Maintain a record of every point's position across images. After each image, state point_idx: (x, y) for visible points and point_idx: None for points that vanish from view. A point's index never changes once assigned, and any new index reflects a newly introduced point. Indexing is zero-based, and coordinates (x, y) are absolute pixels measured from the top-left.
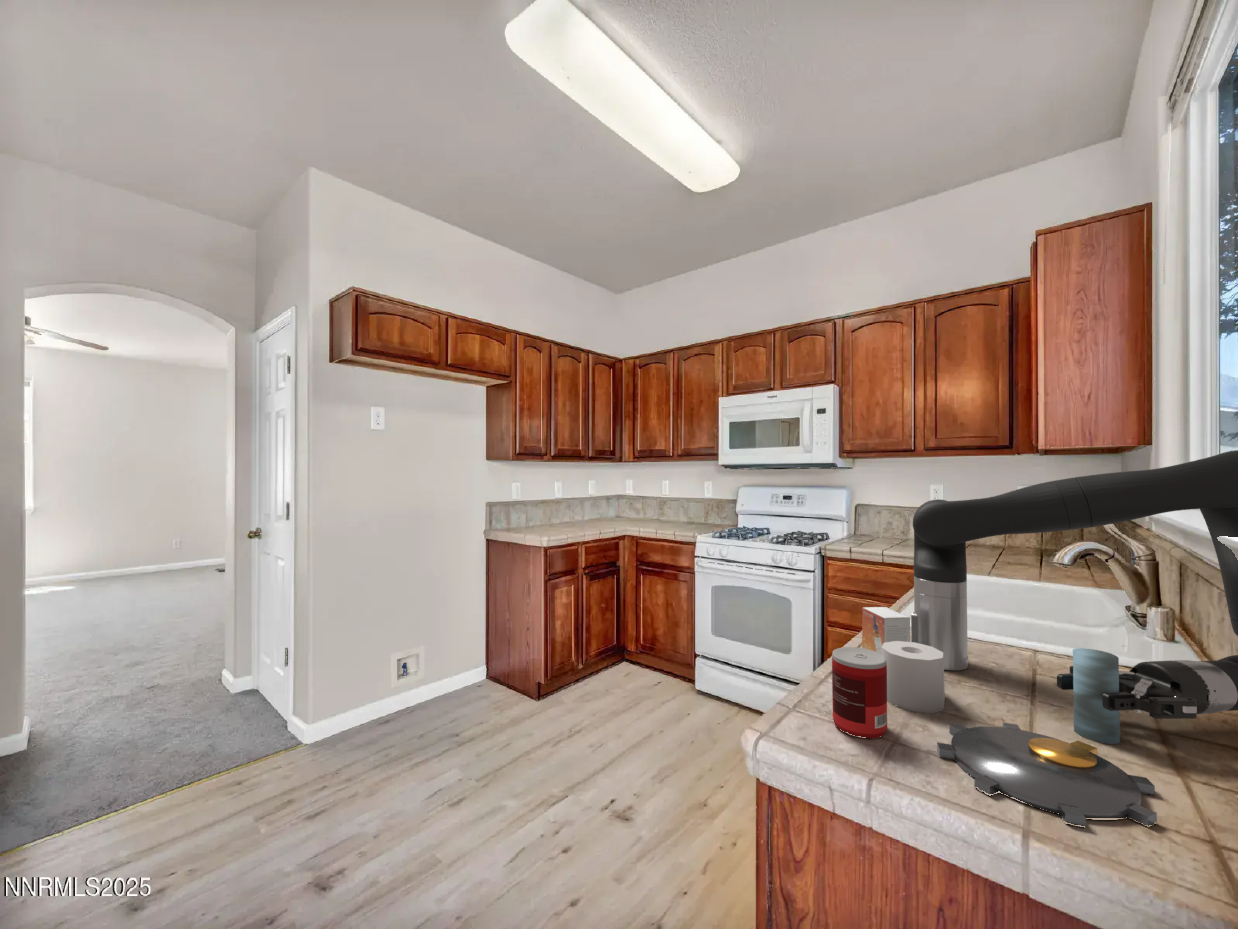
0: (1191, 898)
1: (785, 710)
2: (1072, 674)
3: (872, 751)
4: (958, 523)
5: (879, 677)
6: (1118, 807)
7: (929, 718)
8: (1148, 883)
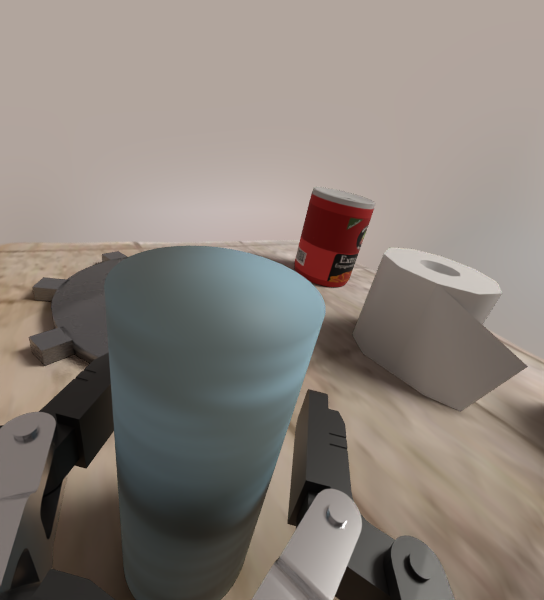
0: (16, 246)
1: (358, 264)
2: (315, 434)
3: (275, 259)
4: None
5: (310, 205)
6: (76, 274)
7: (335, 324)
8: (48, 245)
